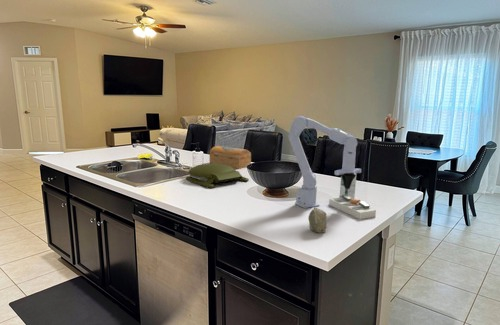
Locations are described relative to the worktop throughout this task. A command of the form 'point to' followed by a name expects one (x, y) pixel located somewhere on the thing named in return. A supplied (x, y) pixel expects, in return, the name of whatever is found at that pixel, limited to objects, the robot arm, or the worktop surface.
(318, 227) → the mottled olive rock
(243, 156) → the wooden box
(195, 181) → the folded olive dish cloth
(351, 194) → the syrup box
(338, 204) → the white tray
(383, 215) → the worktop surface
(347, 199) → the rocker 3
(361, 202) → the rocker
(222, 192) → the worktop surface
